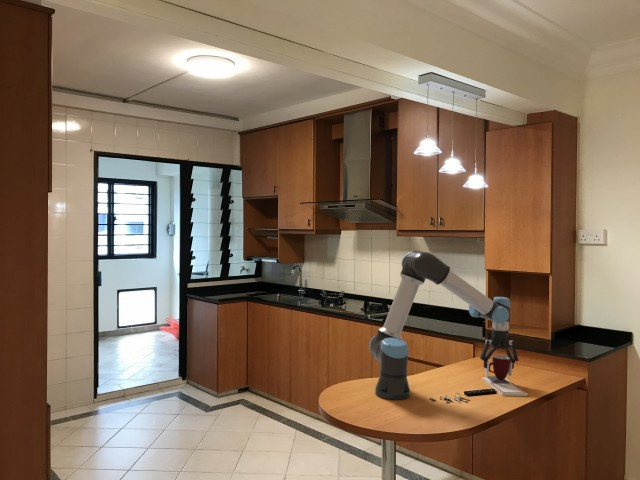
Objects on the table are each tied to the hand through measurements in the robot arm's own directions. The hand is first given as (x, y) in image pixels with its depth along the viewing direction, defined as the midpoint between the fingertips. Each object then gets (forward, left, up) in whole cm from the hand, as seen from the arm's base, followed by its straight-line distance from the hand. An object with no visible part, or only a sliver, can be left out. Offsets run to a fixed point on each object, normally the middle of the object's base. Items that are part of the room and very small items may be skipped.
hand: (498, 375), depth 247 cm
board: (0, -7, -4) cm, 8 cm away
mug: (0, 0, -2) cm, 2 cm away
